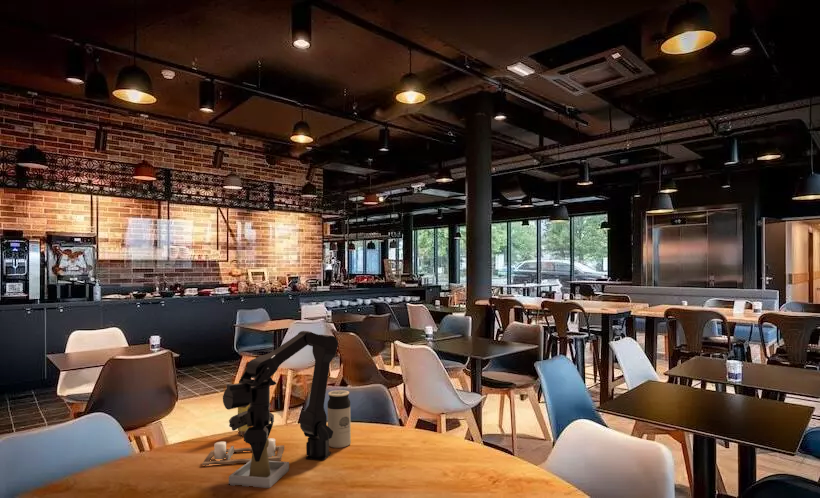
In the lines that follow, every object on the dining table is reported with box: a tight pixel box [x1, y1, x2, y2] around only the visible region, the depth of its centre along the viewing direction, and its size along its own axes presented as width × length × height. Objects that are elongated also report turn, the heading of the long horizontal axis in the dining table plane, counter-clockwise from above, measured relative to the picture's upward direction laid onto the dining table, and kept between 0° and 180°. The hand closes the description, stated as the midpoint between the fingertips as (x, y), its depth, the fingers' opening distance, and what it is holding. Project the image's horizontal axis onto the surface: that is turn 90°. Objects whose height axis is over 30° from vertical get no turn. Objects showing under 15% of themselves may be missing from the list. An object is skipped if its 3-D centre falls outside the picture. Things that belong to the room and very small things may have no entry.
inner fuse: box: [267, 437, 276, 457], centre depth 163 cm, size 4×4×5 cm
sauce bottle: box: [237, 403, 253, 437], centre depth 186 cm, size 7×6×20 cm
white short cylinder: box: [213, 441, 227, 459], centre depth 160 cm, size 4×4×5 cm
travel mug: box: [327, 389, 352, 449], centre depth 173 cm, size 8×8×18 cm
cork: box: [249, 438, 270, 477], centre depth 145 cm, size 6×6×11 cm
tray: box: [228, 460, 290, 489], centre depth 145 cm, size 13×13×2 cm
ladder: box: [201, 444, 285, 465], centre depth 162 cm, size 24×12×2 cm, turn 99°
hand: (259, 455), depth 145 cm, fingers open, 9 cm apart
